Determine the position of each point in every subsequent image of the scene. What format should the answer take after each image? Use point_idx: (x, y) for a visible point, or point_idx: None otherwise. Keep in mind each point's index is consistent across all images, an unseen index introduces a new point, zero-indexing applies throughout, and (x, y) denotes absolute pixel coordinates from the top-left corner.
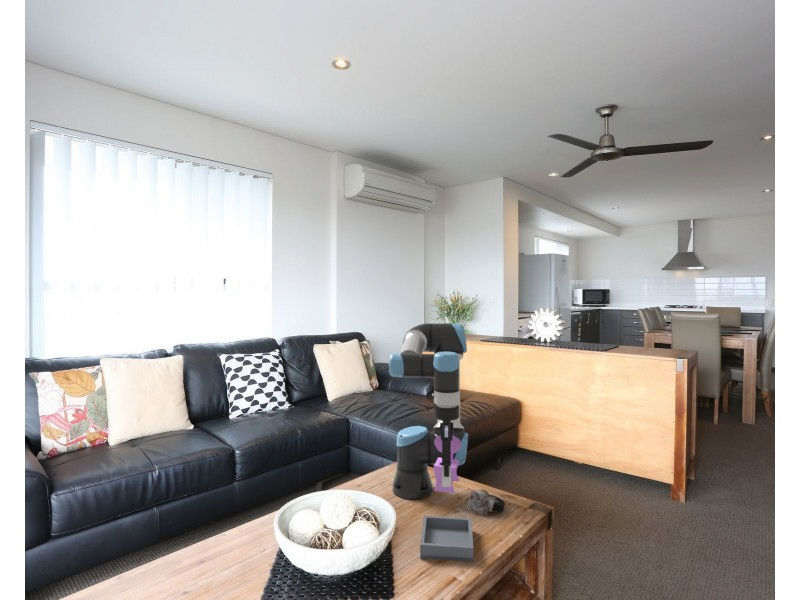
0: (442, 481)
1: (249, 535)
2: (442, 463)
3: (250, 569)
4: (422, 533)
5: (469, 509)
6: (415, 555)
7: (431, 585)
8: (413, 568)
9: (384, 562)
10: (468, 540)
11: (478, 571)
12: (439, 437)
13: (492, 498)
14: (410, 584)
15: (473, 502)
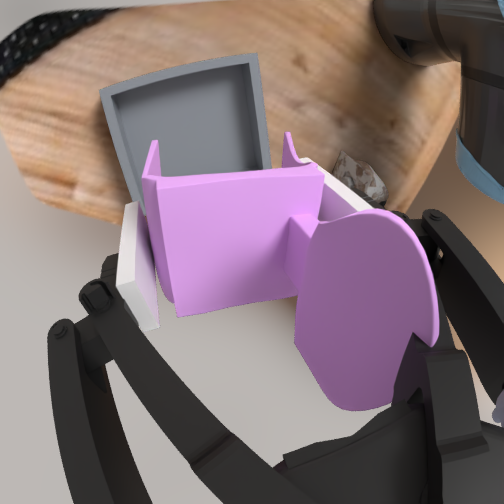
0: (124, 221)
1: None
2: (49, 339)
3: None
4: (156, 74)
5: (340, 156)
6: (114, 71)
7: (32, 151)
8: (65, 90)
9: (66, 20)
10: None
11: (114, 219)
12: (418, 302)
13: None
14: (18, 112)
15: (350, 171)
